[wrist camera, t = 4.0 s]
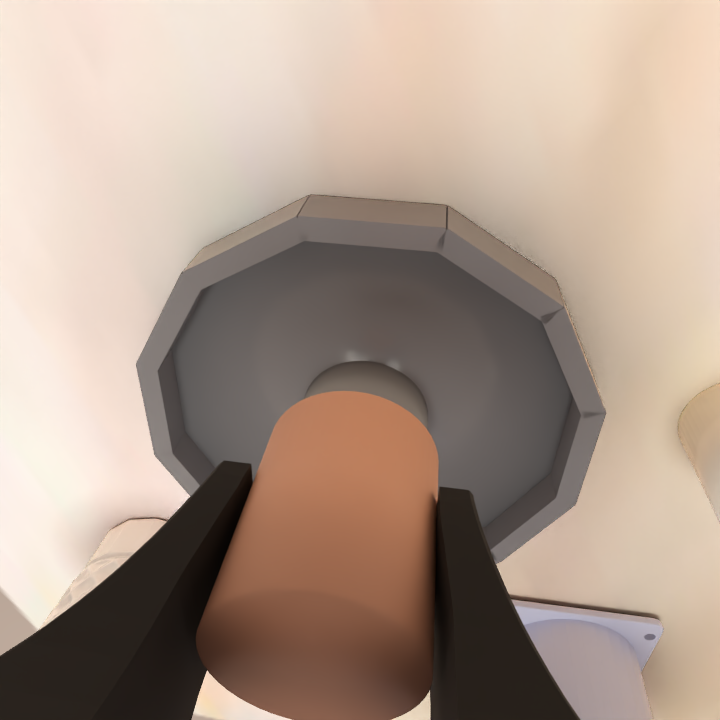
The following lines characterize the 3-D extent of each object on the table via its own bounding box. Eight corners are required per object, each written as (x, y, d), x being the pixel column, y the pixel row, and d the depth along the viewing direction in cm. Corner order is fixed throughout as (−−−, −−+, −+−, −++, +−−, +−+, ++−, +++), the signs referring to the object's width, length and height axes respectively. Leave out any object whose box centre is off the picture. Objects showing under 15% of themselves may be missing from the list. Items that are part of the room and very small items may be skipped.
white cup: (129, 606, 35) (30, 806, 27) (69, 511, 31) (-71, 712, 23) (257, 605, 33) (193, 818, 25) (211, 504, 29) (116, 719, 21)
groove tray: (537, 565, 29) (543, 602, 27) (190, 521, 30) (174, 553, 28) (644, 220, 19) (662, 245, 18) (130, 180, 21) (102, 199, 19)
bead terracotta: (428, 527, 15) (420, 740, 11) (273, 507, 16) (208, 706, 11) (448, 401, 13) (447, 608, 9) (266, 381, 13) (182, 572, 9)
